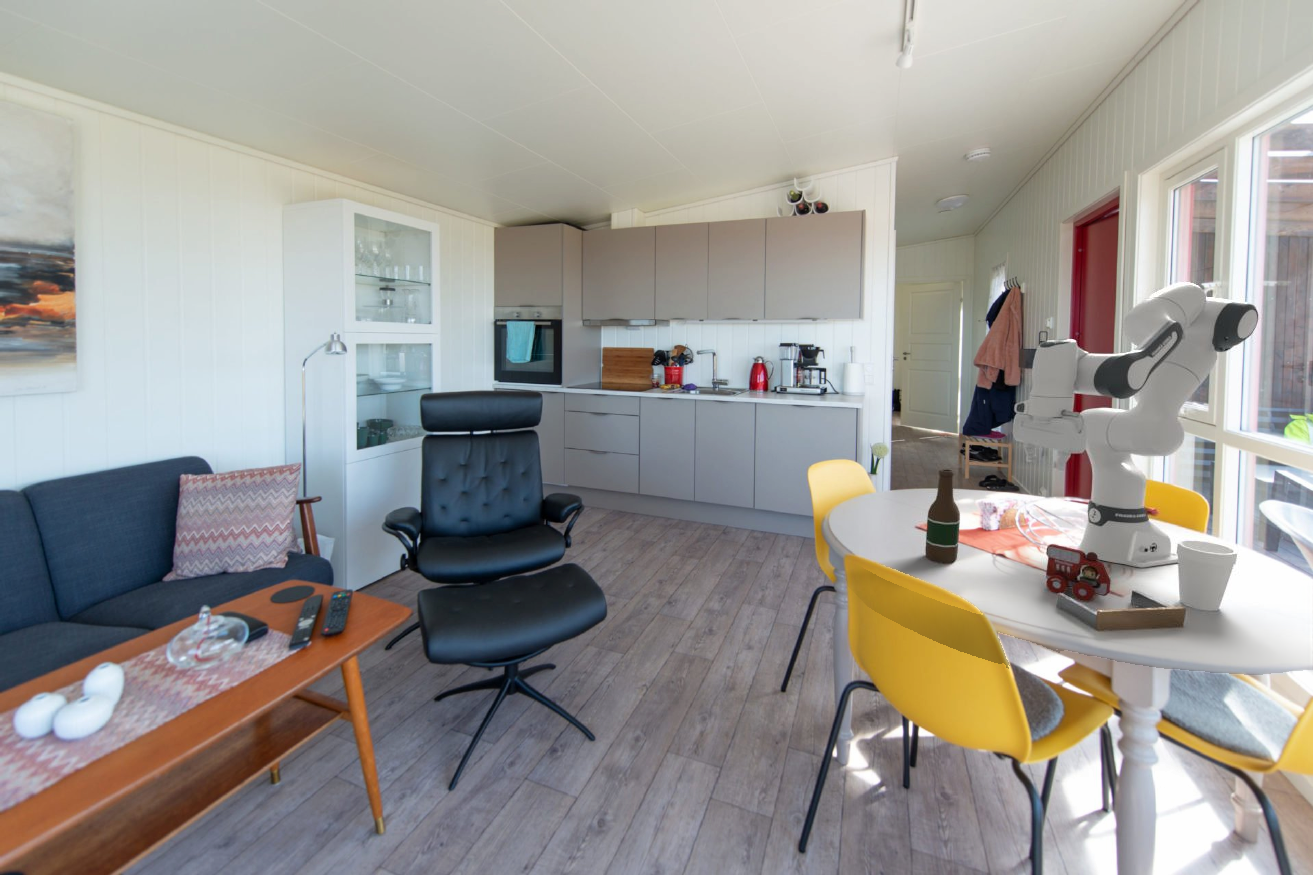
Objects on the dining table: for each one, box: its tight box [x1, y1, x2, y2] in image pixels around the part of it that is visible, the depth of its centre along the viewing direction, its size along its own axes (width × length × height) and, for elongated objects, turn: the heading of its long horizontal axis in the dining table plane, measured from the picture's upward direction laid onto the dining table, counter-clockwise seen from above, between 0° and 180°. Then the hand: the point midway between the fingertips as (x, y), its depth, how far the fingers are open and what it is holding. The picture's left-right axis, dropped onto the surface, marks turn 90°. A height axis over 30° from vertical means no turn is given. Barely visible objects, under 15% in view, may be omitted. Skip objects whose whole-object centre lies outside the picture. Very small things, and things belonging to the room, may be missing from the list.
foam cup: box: [1176, 539, 1238, 612], centre depth 127 cm, size 10×9×13 cm
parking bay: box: [1056, 589, 1187, 632], centre depth 123 cm, size 18×11×4 cm, turn 94°
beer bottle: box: [924, 468, 961, 564], centre depth 155 cm, size 8×8×24 cm
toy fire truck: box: [1045, 543, 1112, 602], centre depth 134 cm, size 7×12×10 cm, turn 38°
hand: (1044, 465), depth 142 cm, fingers open, 8 cm apart
